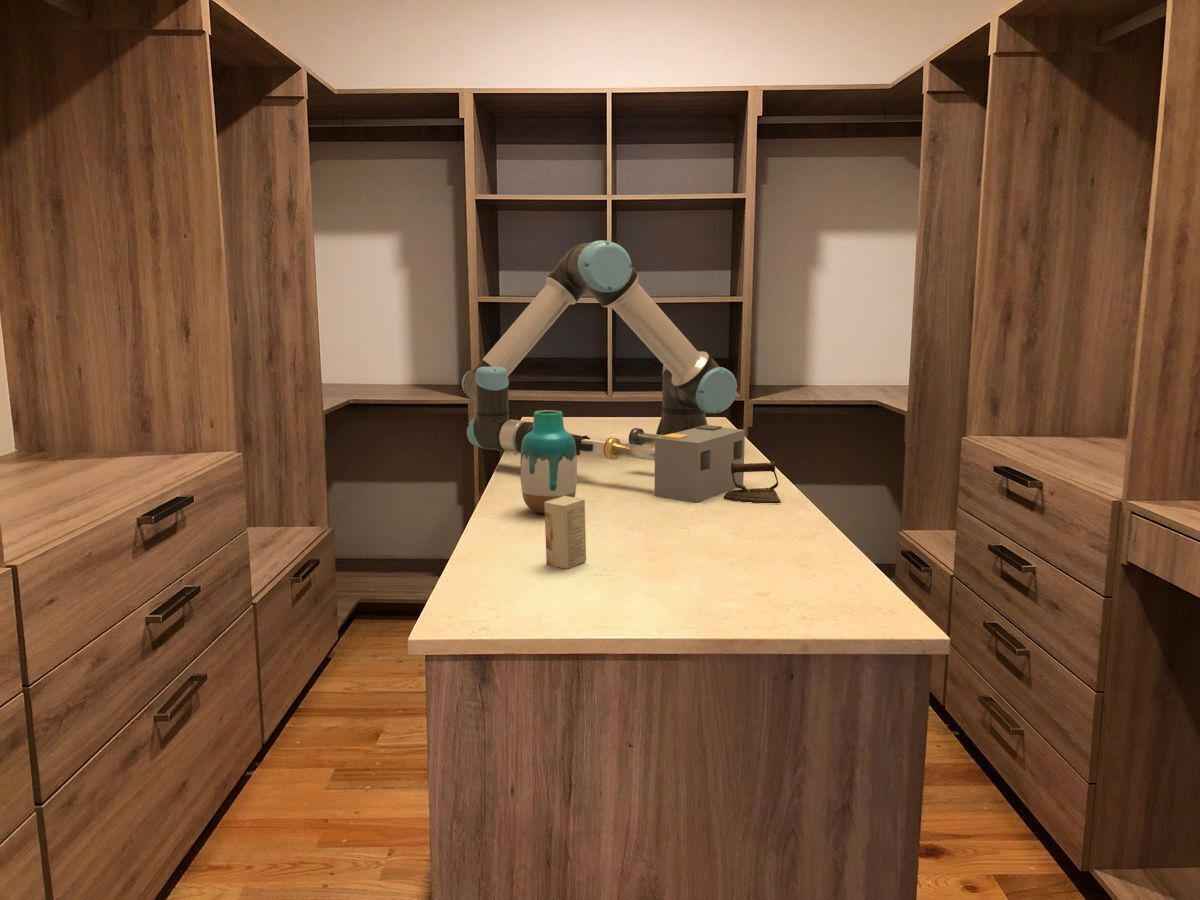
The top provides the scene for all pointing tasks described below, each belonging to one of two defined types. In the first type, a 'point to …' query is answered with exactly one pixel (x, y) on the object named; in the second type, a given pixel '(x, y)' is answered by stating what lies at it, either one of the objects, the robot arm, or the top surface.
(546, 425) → the vase
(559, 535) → the skincare box
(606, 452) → the plunger ochre
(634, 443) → the plunger grey
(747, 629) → the top surface
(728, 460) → the console
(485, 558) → the top surface
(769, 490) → the clothes iron
